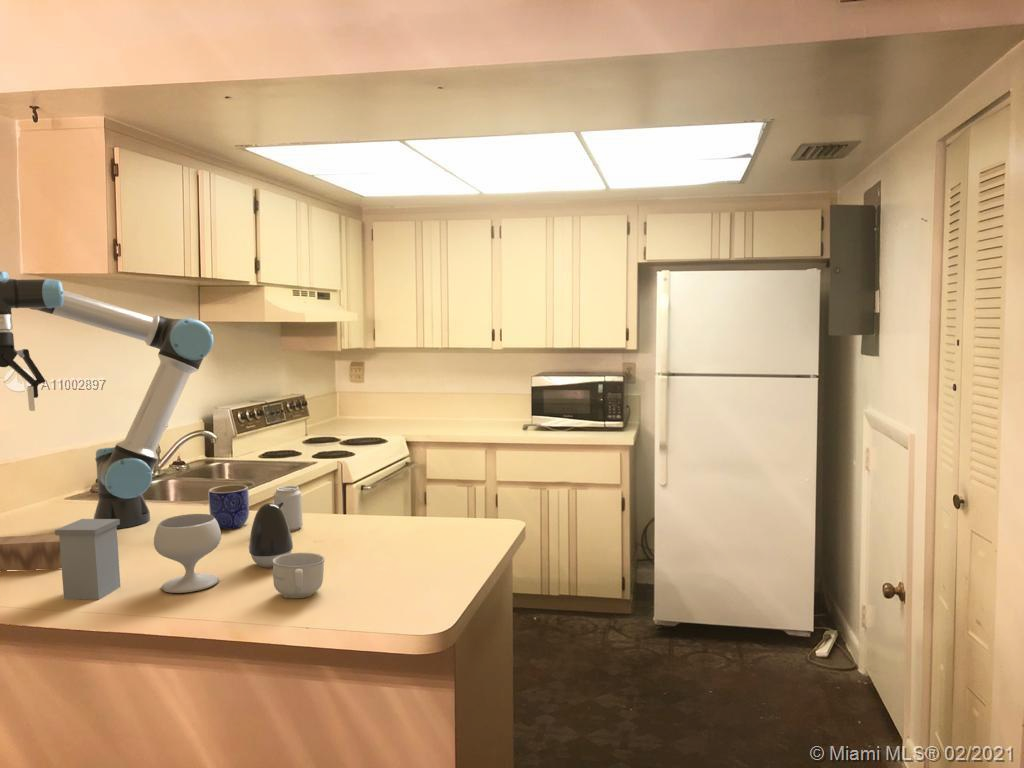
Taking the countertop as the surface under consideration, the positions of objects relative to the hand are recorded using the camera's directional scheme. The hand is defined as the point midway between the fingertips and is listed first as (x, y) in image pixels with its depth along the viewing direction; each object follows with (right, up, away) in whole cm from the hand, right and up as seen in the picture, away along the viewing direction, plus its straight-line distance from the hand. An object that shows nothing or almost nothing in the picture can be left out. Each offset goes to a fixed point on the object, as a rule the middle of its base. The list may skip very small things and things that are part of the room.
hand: (2, 413), depth 203 cm
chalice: (+60, -38, -27) cm, 76 cm away
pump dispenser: (+74, -37, -12) cm, 84 cm away
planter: (+51, -34, +24) cm, 66 cm away
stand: (+40, -39, -30) cm, 63 cm away
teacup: (+87, -38, -35) cm, 101 cm away
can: (+69, -34, +19) cm, 80 cm away
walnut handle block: (+23, -39, -9) cm, 46 cm away
